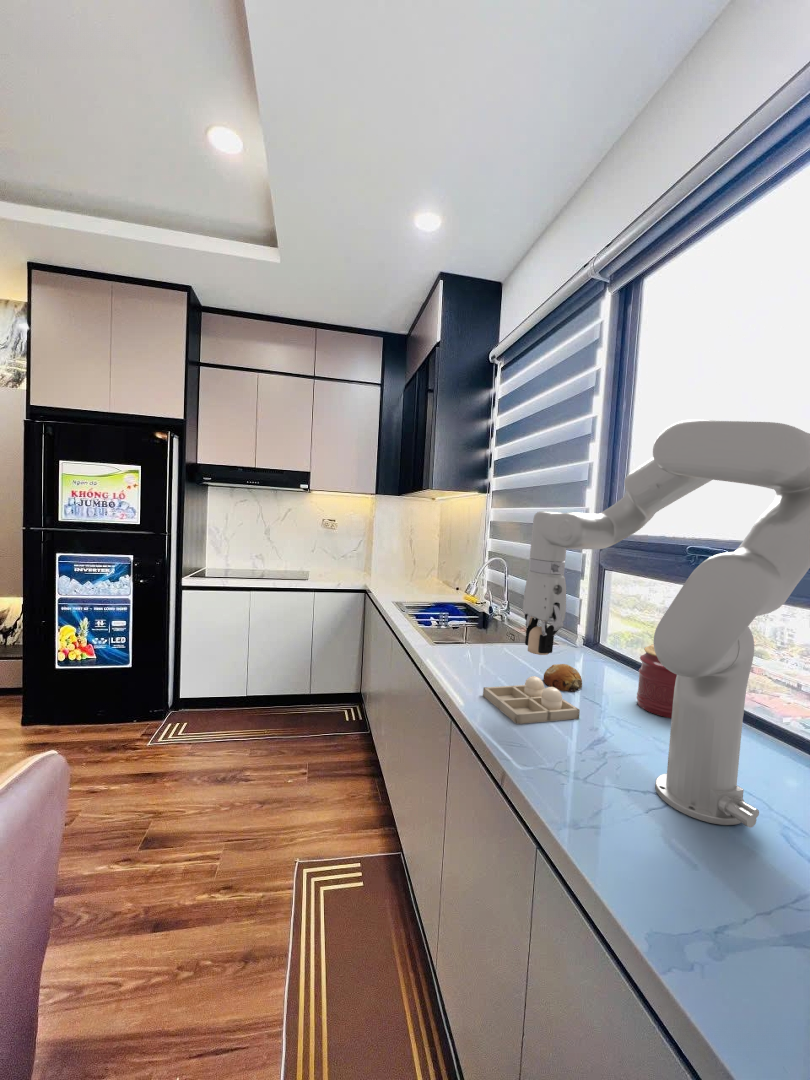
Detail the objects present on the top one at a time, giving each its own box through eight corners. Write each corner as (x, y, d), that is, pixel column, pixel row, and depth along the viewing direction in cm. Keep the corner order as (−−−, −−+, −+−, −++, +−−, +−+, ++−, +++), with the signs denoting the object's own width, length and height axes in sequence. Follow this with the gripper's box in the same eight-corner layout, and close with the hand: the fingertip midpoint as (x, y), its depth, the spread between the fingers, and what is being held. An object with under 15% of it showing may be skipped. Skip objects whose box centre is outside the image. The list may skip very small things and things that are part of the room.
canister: (643, 715, 109) (649, 642, 108) (630, 695, 122) (635, 630, 121) (705, 724, 106) (711, 649, 105) (685, 703, 119) (690, 635, 118)
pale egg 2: (565, 715, 105) (567, 690, 105) (548, 716, 104) (549, 691, 104) (553, 706, 110) (555, 683, 109) (536, 708, 108) (538, 684, 108)
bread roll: (577, 697, 128) (575, 667, 131) (588, 694, 119) (586, 662, 122) (541, 694, 129) (540, 664, 132) (549, 690, 120) (548, 659, 123)
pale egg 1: (546, 702, 112) (548, 679, 112) (530, 703, 111) (532, 680, 110) (536, 695, 116) (537, 673, 116) (520, 696, 115) (521, 674, 115)
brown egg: (553, 654, 101) (555, 629, 100) (534, 655, 99) (537, 629, 99) (541, 648, 105) (543, 623, 105) (523, 648, 104) (525, 623, 103)
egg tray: (578, 720, 104) (579, 709, 104) (516, 726, 99) (517, 714, 99) (538, 693, 119) (539, 684, 119) (482, 697, 114) (483, 687, 114)
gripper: (586, 574, 94) (576, 661, 95) (539, 563, 110) (532, 637, 111) (554, 573, 92) (545, 662, 93) (511, 561, 108) (504, 637, 109)
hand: (538, 648), depth 102 cm, fingers closed on brown egg, 4 cm apart
